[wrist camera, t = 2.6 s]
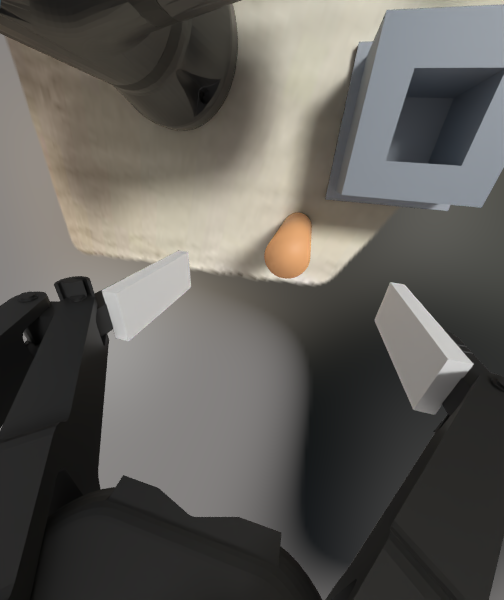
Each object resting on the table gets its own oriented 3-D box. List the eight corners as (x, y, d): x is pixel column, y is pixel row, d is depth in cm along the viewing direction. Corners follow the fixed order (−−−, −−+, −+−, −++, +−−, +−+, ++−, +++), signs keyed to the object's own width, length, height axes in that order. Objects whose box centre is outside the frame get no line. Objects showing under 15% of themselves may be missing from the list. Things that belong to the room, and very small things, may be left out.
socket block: (325, 198, 29) (328, 204, 22) (358, 45, 22) (376, -12, 15) (445, 210, 26) (487, 220, 20) (524, 41, 20) (629, -27, 13)
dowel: (281, 239, 33) (262, 274, 21) (285, 211, 31) (266, 231, 19) (308, 243, 32) (305, 281, 20) (314, 214, 30) (314, 237, 18)
